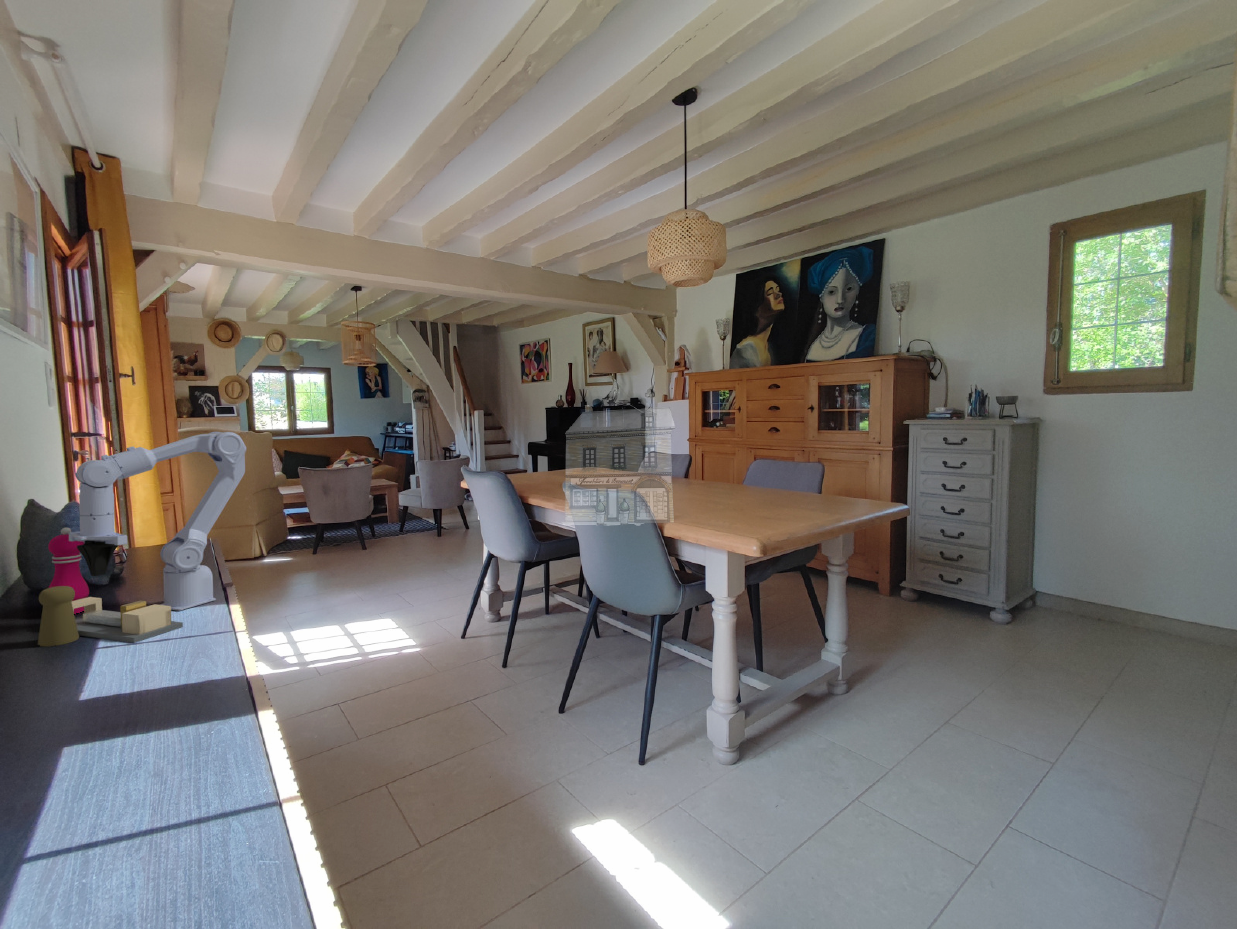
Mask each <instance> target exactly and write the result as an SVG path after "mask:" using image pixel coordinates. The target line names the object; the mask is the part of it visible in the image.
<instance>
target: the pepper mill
mask: <svg viewBox="0 0 1237 929" xmlns="http://www.w3.org/2000/svg"><path fill="white" fill-rule="evenodd" d="M71 532H72V529H71V528H69V527H63V528H62V529H60V534H59V535H57V536H54V537H52V539H50V541H49V543H48V545H47V546H48V551H49V552H50V553H51V554H52V555H53V556H52V557H51V559H52V561H51V563H52V564H54V574H53V578H52V580H51V582H50V585H49V586H48V588H51V587H57V586H69V587H72V588H73V589H74V591H75V596H74V599H73V600H72V601H75V600H79V599H83V598H88V597H89V595H90V588H89V586H88V583H87V581H86V580H85V578H84V577H83V576H82V572H81V568H80V561H81V560H83V558H82V556H83V555H82V554H81V552H80V551H79V550H78V549H77V546H78V545H84V543H85V542H83V541H69V533H71ZM82 611H84V606H83V607H79V608H75V609H74V614H75V615H77V614H76V613H79V614H81V613H80V612H82ZM82 613H83V612H82Z"/></svg>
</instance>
